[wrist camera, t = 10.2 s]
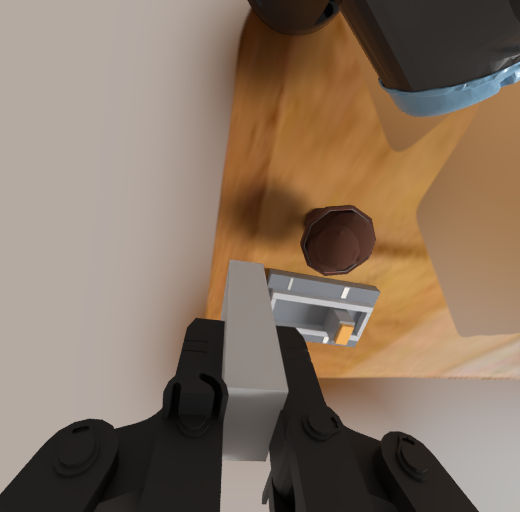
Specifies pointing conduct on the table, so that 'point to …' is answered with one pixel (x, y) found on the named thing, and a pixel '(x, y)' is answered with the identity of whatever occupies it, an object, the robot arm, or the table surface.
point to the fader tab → (338, 325)
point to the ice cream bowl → (337, 239)
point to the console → (318, 303)
